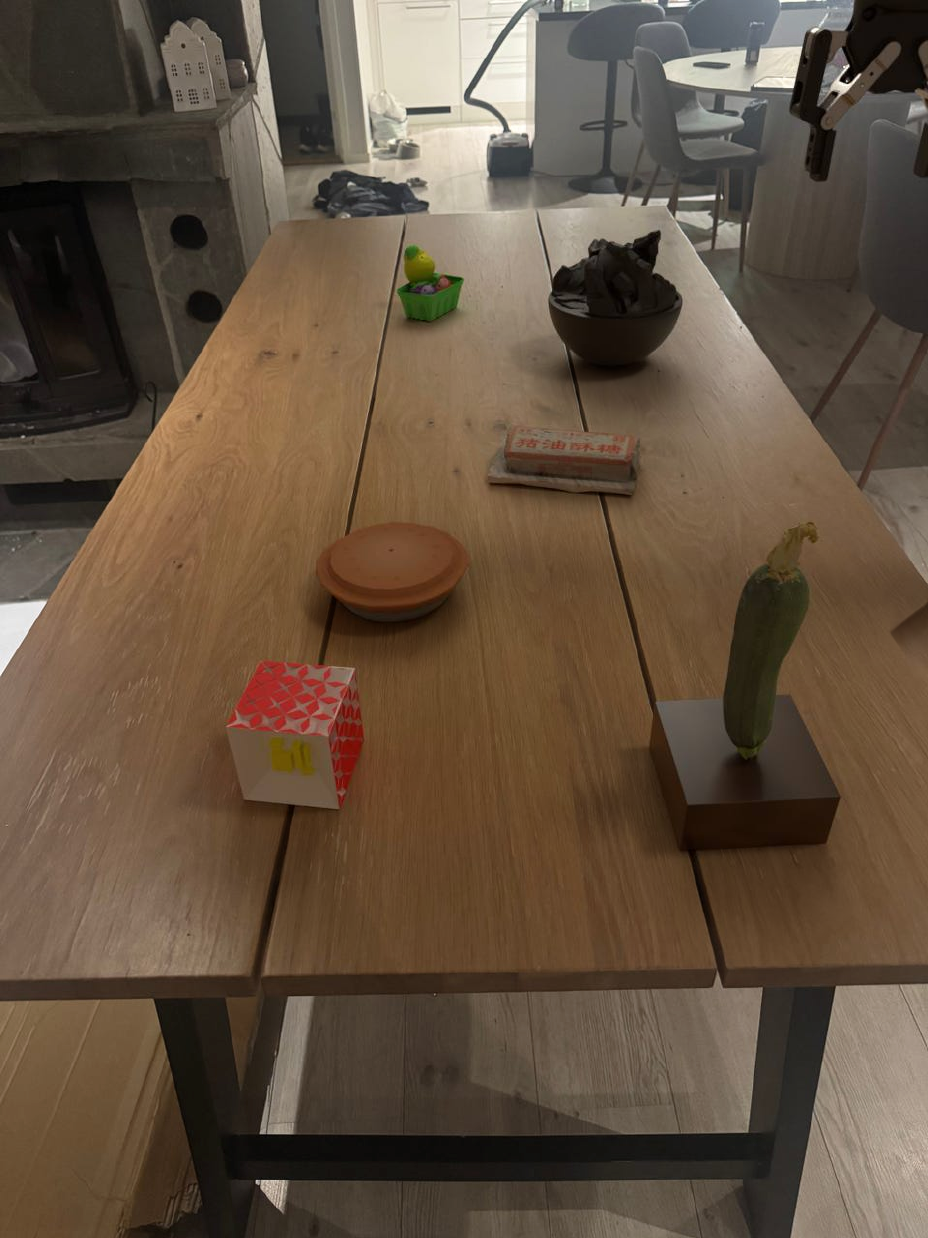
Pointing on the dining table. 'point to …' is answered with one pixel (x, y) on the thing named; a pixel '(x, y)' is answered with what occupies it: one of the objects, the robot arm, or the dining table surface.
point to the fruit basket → (427, 287)
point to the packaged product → (568, 460)
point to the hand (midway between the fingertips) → (870, 177)
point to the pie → (392, 570)
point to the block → (740, 779)
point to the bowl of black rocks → (614, 302)
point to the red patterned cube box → (297, 734)
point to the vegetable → (764, 640)
